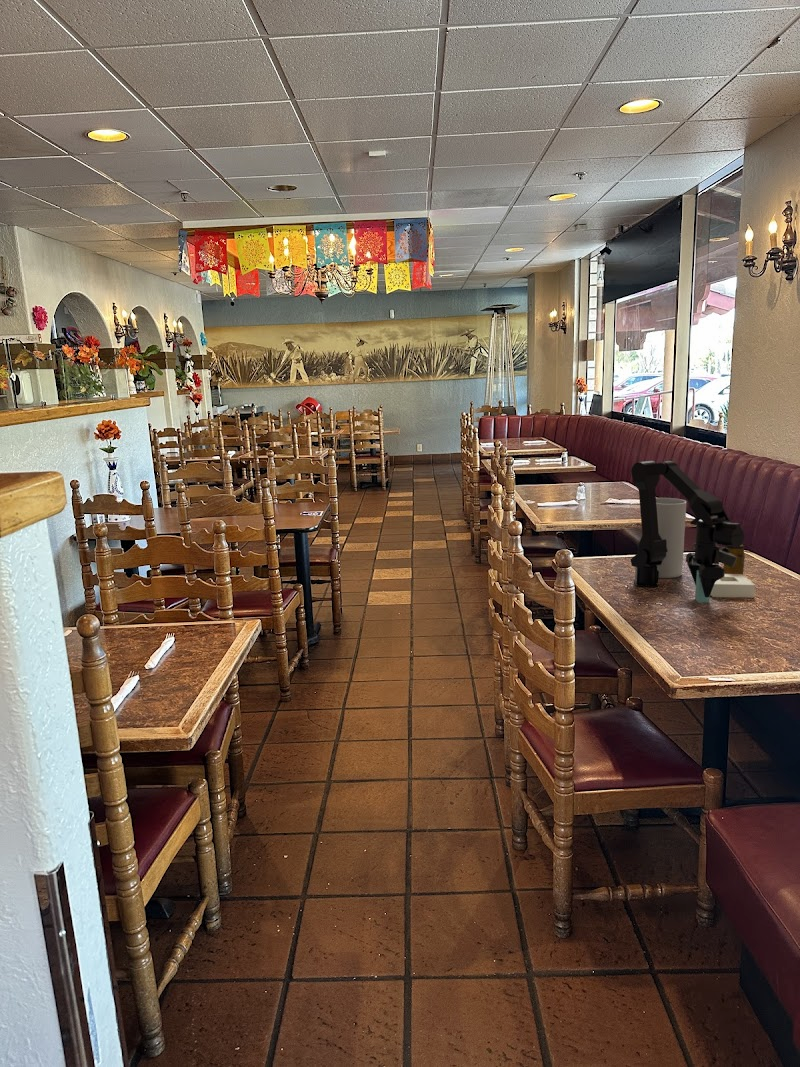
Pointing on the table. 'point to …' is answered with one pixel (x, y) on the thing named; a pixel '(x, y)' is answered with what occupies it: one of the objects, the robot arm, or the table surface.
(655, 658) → the table surface
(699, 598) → the peg
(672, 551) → the cylinder vase
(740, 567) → the condiment
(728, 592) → the socket block
